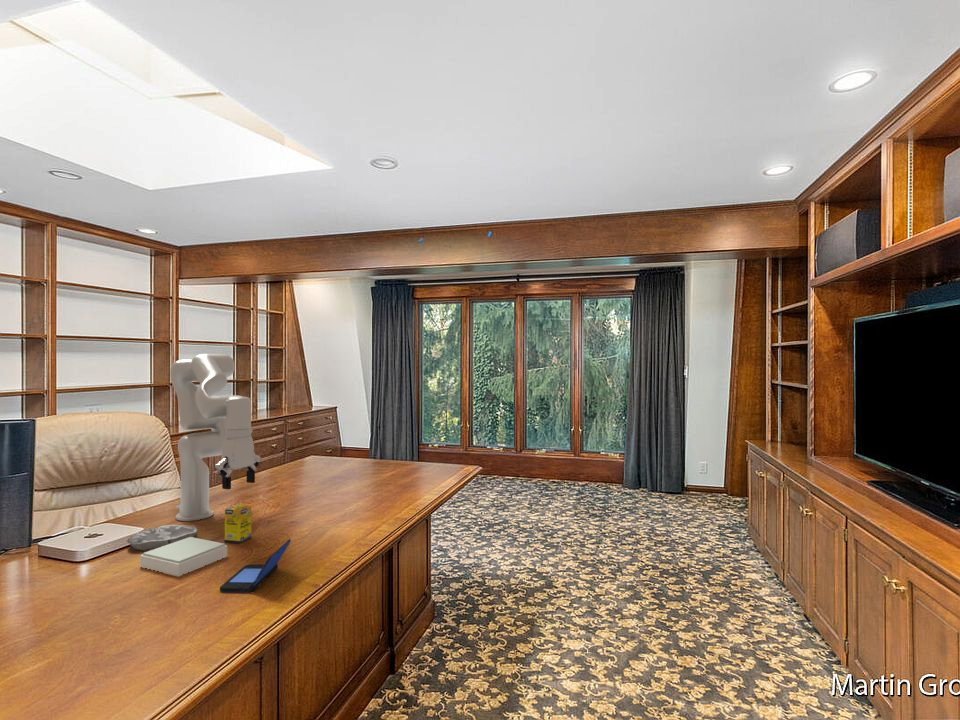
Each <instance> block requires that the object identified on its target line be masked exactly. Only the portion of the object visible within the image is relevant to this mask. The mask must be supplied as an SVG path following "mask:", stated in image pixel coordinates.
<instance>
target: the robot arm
mask: <svg viewBox="0 0 960 720" xmlns="http://www.w3.org/2000/svg"><path fill="white" fill-rule="evenodd" d="M235 366H236V363H235V361H234V359H233V357H232V356H230V355H229V354H225V353H202V354H201V353H200V354H197V355H195V356H194V357H193V358H189V359H187V358H186V359H180V360H179V359H178V360H176V361H174V362H173V363H172V364H171V367H170V381H171V384H172V386H173V389H174V391H175V394H176V397H177V405H178V415H179V422H180V427H181V428H182V429H183V430H185V431H199V430H201V431H202V430H211V431H209V432H208V431H207V432H196V433H189V434H184V435H183V436H181V437H180V438H179V440H178V441H177V451H178V457H179V463H180V503H179V505H176V506H175V510H179V512H178V513H177V514H176V515H175V519H176V521H180V522H193V521H199V520H200V519H201V520H204V519H207V518H210V517H212V516H213V515H214V510H213V509H210V470H209V469H210V468H209V466H208V465H207V464H206V462H204V460H203V458H210V457H219V456H220V457H221V459H220V461H218V462H217V463H215V464H214V467H215V469H216V471H217V472H216V473H218V475H219V476H220V477H221V488H222V490H231V488H232V478H231V477H232V476H230V475H231V474H232V472H233V471H236V470H242V469H245V468H246V469H247V470H246V483H248V484H255V483H256V481H255V480H256V471H257V469H258V466H259V465H260V461H261V458H262V457H261V456H260V455H258V454H256V453H255V445H254V440H253V436H252V433H253V429H252V400H251V398H250V397H248V396H241V395H216V393H220V392H221V391H223V390H224V389H225V387H226V386H227V383H228V377H230V376H232V375H233V373H234V372H235ZM193 382H198V383H199V385H198V386H197V385H196V384H194V383H193Z"/></svg>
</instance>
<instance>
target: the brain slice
mask: <svg viewBox="0 0 960 720" xmlns="http://www.w3.org/2000/svg"><path fill="white" fill-rule="evenodd" d="M140 531H141V532H140ZM140 531H138V532H139V533H137V532H135V533H136V534H135V533H134V534H133V535H132V536H130V537H129V538H127V543H129V545H130V546H131V547H132V548H133V549H134V550H136V551H142V550H143V551H148V550H147V549H149V550H154V549H155V548H159V547H162V546H165V545H168V544H171V543H174V542H177V541H180V540H183V539H186V538H188V537H194V538H195V536H196V535H197V534H198V528H197V527H196V526H195V525H187V524H185V525H184V524H183V525H182V524H167V525H166V524H165V525H160V526H157V528H156V527H151V528H150V527H149V528H145V529H142V530H140Z"/></svg>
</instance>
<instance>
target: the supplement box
mask: <svg viewBox="0 0 960 720" xmlns="http://www.w3.org/2000/svg"><path fill="white" fill-rule="evenodd" d="M249 539H252V505H249V504H247V505H246V504H235V505H232V506H230V507H228V508H225V509H224V543H230V542H233V543H232V544H242V543H243V542H245V541H246V540H249Z"/></svg>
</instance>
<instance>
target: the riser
mask: <svg viewBox="0 0 960 720" xmlns="http://www.w3.org/2000/svg"><path fill="white" fill-rule="evenodd" d="M227 557H228V545H227V544H226V543H225V542H224V543H223V542H218V541H213V540H208V539H204V538H198V537H195V536H194V537H188V538H186V539H183V540H180V541H177V542H174V543H171V544H168V545H165V546H162V547H159V548H156V549H150V550H147V551H144V552H143V553H142V554H140V555H139V561H140V562H139V564H140V565H139V566H140V568H141V567H142V569H145V568H147V569H146V570H149V569H151V570H150V571H153V570H155V571H154V572H157V571H159V572H158V573H161V572H163V573H162V574H166V575H169V576H174V577H177V578H179V577H181V576H184V575H185V574H188V572H189V573H191V572H193V571H195V570H198V569H200V568H203V567H205V565H206V566H208V565H210V564H212V563H215V562H218V561H220V560H223V559H225V558H227ZM222 558H223V559H222ZM217 560H218V561H217ZM183 574H184V575H183Z"/></svg>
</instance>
